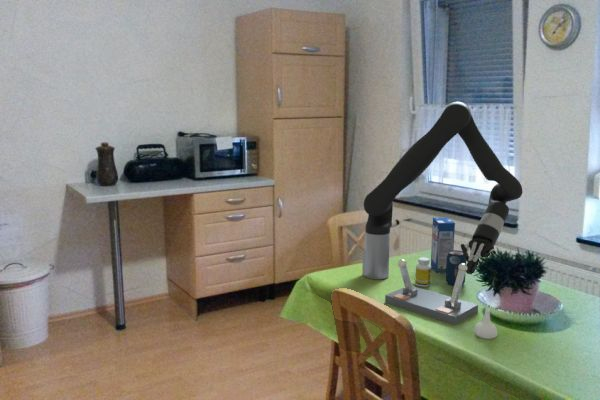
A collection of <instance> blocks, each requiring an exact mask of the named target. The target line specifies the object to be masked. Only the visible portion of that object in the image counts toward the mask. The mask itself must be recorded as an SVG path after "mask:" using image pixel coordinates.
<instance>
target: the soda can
mask: <svg viewBox="0 0 600 400" xmlns="http://www.w3.org/2000/svg"><path fill="white" fill-rule="evenodd" d="M462 263H464V264H466V265H467V261H466V259H465V258H464V255H463V252H462V250H456V249H455V250H453V251H449V253H448V255H447V260H446V273H445V282H446V284H447V285H448V286H451V287H454V285H455V282H456V278H457V274H458V271H459V268H458V267H459V265H460V264H462ZM466 274H467V273H466V272H465V276H464V279H463V283H462V286H463V285H464V284H465V282H466Z"/></svg>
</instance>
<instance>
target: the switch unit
mask: <svg viewBox="0 0 600 400" xmlns="http://www.w3.org/2000/svg"><path fill="white" fill-rule="evenodd" d="M412 288H413V290H411V293H408V292H406V289H405V286H403V287H402V288H399V289H397V290H395V291H392V292H389V293H387V294H385V295H384V297H385V298H384V302H385V303H386V304H390V305H393V306H395V307H399V308H402V309H405V310H407V311H411V312H414V313H417V314H420V315H424V316H427V317H430V318H433V319H436V320H439V321H443V322H444V323H445V322H446V323H448V324H452V325H455V326H456V325H457V324H459V323H461V322H463V321H464V320H466V319H469V318H470V317H472V316H473V315H476V314H478V312H479V304H478V303H473V302H470V301H468V300H467V301H466V300H462V299H459V298H458V301H457V302H455V303H454V304H453V303H450V300H451V296H448V295H446V294H443V293H442V294H441V293H437V292H434V291H432V290H431V291H430V290H428V289H424V288H422V287H419V286H417V287H416V286H415V285H412Z"/></svg>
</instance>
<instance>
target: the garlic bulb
mask: <svg viewBox="0 0 600 400" xmlns="http://www.w3.org/2000/svg"><path fill="white" fill-rule="evenodd" d="M490 311H491V310H490V309H488V308H486V309H485V312H484V316H483V319H482V321H479V322H477V323H476V324H475V326H474V334H475V336H477V337H479V338H481V339H484V340H492V339H495V338H497V335H498V328H497V325H495V324H494V323H492V321H491V315H490V314H491V313H490Z"/></svg>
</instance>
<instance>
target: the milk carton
mask: <svg viewBox="0 0 600 400" xmlns="http://www.w3.org/2000/svg"><path fill="white" fill-rule="evenodd" d="M455 225H456V223H455V222H454V221H453V219H451V218H449V217H432V228H431V229H432V230H431V231H432V232H431V251H430V254H431V255H430V266H431V269H433V271H434V272H435V273H436V274H446V260H447V255H448V253H449V251H453V250H454V249H455V248H454V247H455V246H454V245H455V227H456V226H455Z"/></svg>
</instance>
